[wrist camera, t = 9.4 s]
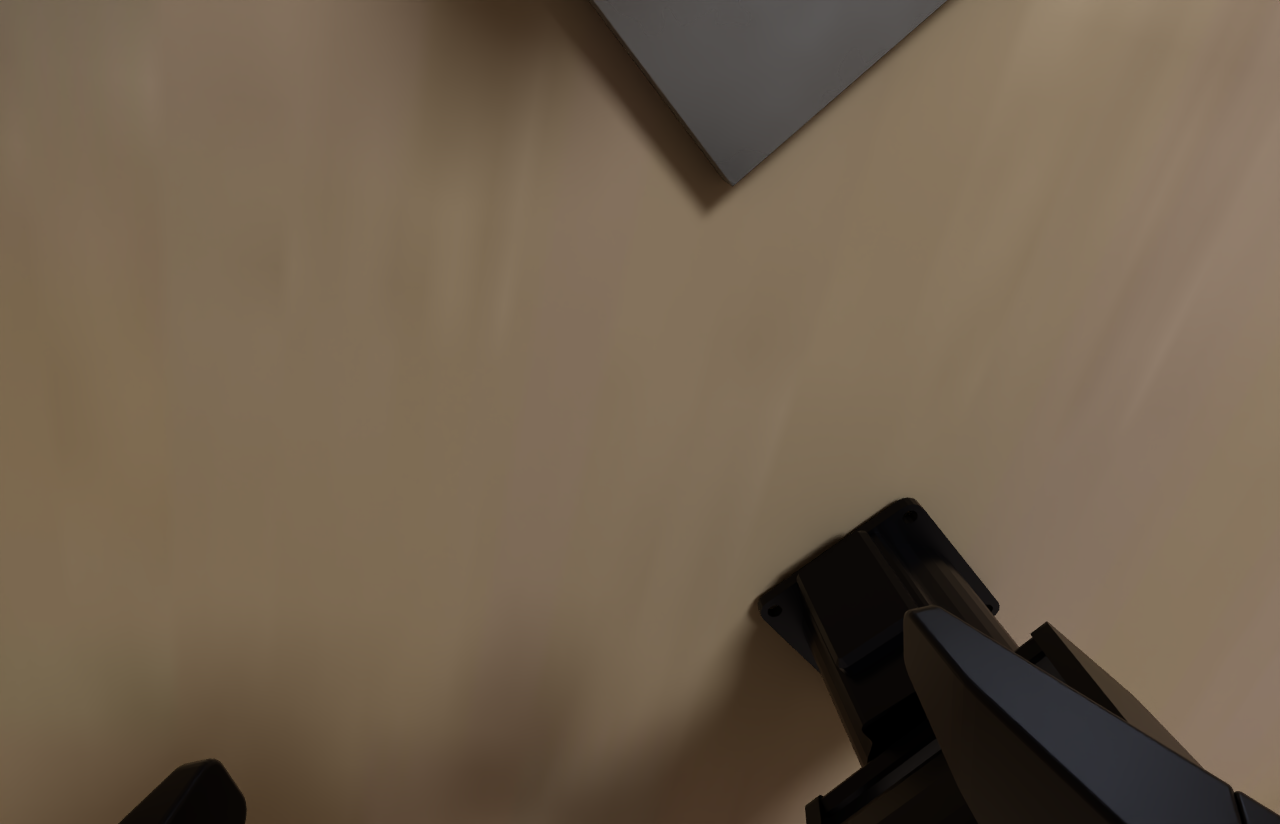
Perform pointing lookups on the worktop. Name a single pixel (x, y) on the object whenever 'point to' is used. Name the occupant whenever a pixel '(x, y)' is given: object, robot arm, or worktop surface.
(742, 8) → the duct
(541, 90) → the worktop surface
